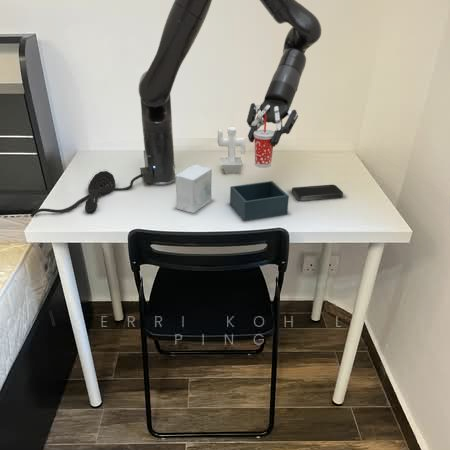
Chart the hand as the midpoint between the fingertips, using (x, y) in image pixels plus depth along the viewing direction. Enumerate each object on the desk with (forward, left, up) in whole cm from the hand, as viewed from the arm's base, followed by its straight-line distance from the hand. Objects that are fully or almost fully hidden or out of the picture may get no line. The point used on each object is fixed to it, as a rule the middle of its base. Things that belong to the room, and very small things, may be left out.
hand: (261, 142), depth 126 cm
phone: (+22, +3, -19) cm, 29 cm away
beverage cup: (+1, +1, -7) cm, 7 cm away
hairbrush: (-44, +24, -20) cm, 54 cm away
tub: (0, -1, -19) cm, 20 cm away
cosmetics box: (-17, +8, -20) cm, 27 cm away
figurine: (+3, +30, -20) cm, 36 cm away
